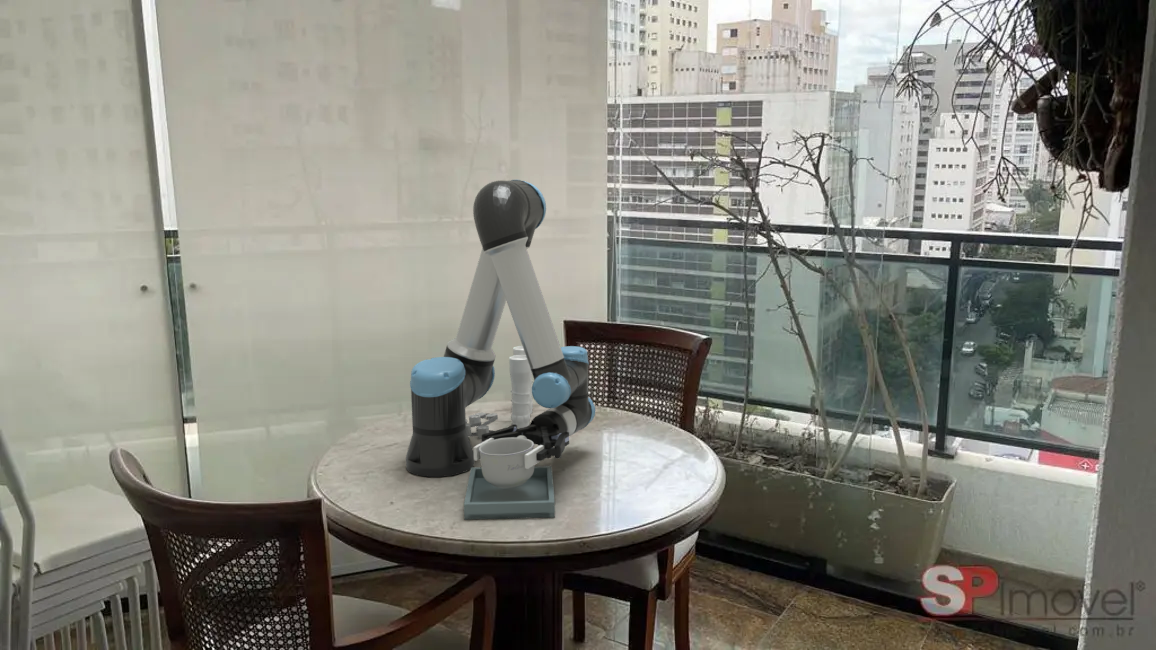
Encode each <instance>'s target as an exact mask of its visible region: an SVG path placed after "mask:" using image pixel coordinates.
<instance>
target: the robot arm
mask: <svg viewBox="0 0 1156 650" xmlns="http://www.w3.org/2000/svg"><path fill="white" fill-rule="evenodd" d="M472 211H473V212H472V213H473V215H472V216H473V220H474V225H475V229H476V233H477V236H478V239H479V241H480V246H481V247H482V249H481V252H480V255H479V259H478V262H477V266H476V269H475V271H474V275H473V279H472V282H471V286H470V289H469V293H468V296H467V300H466V303H465V306H464V309H463V313H462V317H461V319H460V323H459V327H458V330H457V333H456V336H455V338H452V339H451V340H449V341H447V344H446V348H445V351H444V354H443V356H437V357H432V358H430V359H428V358H427V359H424V360H421V361H419V362H418V363H416V364H415V365H413V367H412V369H411V371H410V380H409V381H410V382H409V386H410V387H409V388H410V396H411V397H410V399H411V400H410V401H411V420H412V421H411V423H412V435H411V437H410V438H411V439H410V441H409V444H408V445H409V446H408V448H407V452H406V455H405V468H406V470H407V472H409V473H411V474H413V475H417V476H421V477H429V478H431V477H433V478H434V477H435V478H436V477H437V478H438V477H441V478H442V477H449V476H451V477H452V476H455V475H458V474H459V475H460V474H463V473H465V472H467V471H469V470H471V468H472V467H474V466H475V464H476V463H475V461H476V462H477V461H480V452H479V447H480V446H481V445H482V444H484V443H486V442H488V441H491V440H495V439H500V438H511V437H515V438H516V437H518V436H520V435H522V436H525V437H526V438H527V439H529V440H531V441H533V443H534V445H537V447H535V448H533V450H532V451H530V452H528V453H527V454H525V455H524V456H525V468H526V469H529V468H530V467H532V466H533V465H534V466H536V465H537V464H538V463H539V462H542V461H544V460H546V459H551V458H552V457H554V459H558V460H559V459H560V458H562V455H563V453H564V451H565V448H566V447H567V446H569V444H570V437H571V436H573V435H574V434H576V433H577V432H579V431H581V430H583V429H585V428H586V427H588V425H589V424H590V423H591V422H592V421H593V420H594V418H595V416H596V406H595V404H594V402H593V400H592V399H591V398H590V397H589V364H590V363H589V357H588V351H587V349H586V348H585V347H582V346H574V345H570V346H569V345H568V346H567V345H566V346H561V344H560V342H559V339H558V336H557V333H556V330H555V328H554V324H553V322H552V319H551V316H550V312H549V310H548V307H547V304H546V302H545V298H544V295H543V292H542V290H541V287H540V284H539V281H538V277H537V275H536V272H535V270H534V266H533V264H532V260H531V257H530V255H529V252H528V249H530V247H531V243H532V240H533V238H534V234H535V231H536V229H538V228H539V227H540V226H541V224H542V222H543V221H544V220H545V217H546V214H547V205H546V199H545V197H544V195H543V193H542V192H541V190H540V189H539V188H538V187H537V186H536V185H534V184H533V183H530V182H527V181H525V180H521V179H511V180H494V181H491V182H489V183H487V184H486V185H483V187H482V188H481V189H480V190H479V191H478V193H477V195H476V196H475V199H474V202H473V207H472ZM506 303H507V306H508V308H509V312H510V314H511V315H510V316H511V317H512V321H513V323H514V326H515V329H516V332H517V334H518V337H519V339H520V342H521V346H523V349H524V352H525V354H526V357H527V360H528V363H529V366H530V369H531V371H532V378H533V380H534V381H532V382H533V383H532V399H534V401H535V402H536V403H537V404H538V405H539V406H540V407H541V408H542V407H543V408H545V409H547V410H545V411H543V412H541V413H539V414H538V415H536V416H535V417H533V418H532V420H530V421H531V422H530V425H529V426H527V427H524V428H517V425H515V424H513V425H512V424H511V425H509V426H506V427H504V428H500V429H496V430H493V432H489V433H486V434H483V435H482V440H481V442H480V443H478V444H476V445H475V446H472V444H471V441H470V438H469V436H468V435H467V432H466V419H467V417H466V408H467V407H469V406H470V405H471V404H473V403H475V402H476V401H478V400H480V399H481V398H483V397H484V396H485V395H486V394H487V393H488V392H489V390H490V389H491V388H492V386H493V384H494V380H495V377H496V373H495V372H496V371H495V370H496V369H495V366H494V363H495V360H496V354H495V352H494V350H493V345H494V342H495V338H496V335H497V331H498V328H499V325H500V321H501V319H502V316H503V312H504V309H505V306H506Z"/></svg>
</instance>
